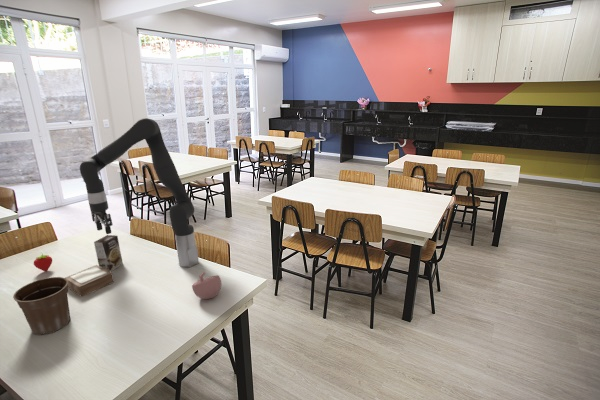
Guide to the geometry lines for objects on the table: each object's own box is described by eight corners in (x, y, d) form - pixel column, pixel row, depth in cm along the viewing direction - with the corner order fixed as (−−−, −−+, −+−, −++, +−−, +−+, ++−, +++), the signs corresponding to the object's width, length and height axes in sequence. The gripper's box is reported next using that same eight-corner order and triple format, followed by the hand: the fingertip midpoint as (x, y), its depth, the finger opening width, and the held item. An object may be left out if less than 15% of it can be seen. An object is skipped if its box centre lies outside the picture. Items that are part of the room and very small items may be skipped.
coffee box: (110, 272, 163) (104, 242, 158) (99, 271, 164) (92, 241, 159) (123, 263, 172) (117, 235, 167) (112, 262, 173) (106, 234, 168)
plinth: (113, 282, 154) (111, 272, 153) (81, 296, 143) (79, 286, 142) (98, 273, 162) (96, 264, 160) (67, 287, 151) (64, 277, 149)
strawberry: (35, 271, 165) (30, 253, 162) (53, 266, 170) (48, 248, 167) (37, 276, 161) (32, 257, 158) (56, 270, 166) (51, 252, 163)
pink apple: (213, 285, 150) (211, 263, 147) (227, 296, 142) (225, 273, 139) (188, 296, 142) (185, 273, 139) (202, 308, 134) (199, 284, 131)
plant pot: (87, 315, 131) (78, 280, 126) (45, 343, 116) (33, 305, 111) (58, 308, 136) (48, 273, 131) (14, 333, 122) (2, 296, 117)
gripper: (113, 201, 156) (119, 232, 161) (98, 196, 164) (104, 226, 169) (97, 205, 150) (104, 237, 155) (82, 200, 158) (89, 231, 163)
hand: (104, 231), depth 162 cm, fingers open, 8 cm apart
